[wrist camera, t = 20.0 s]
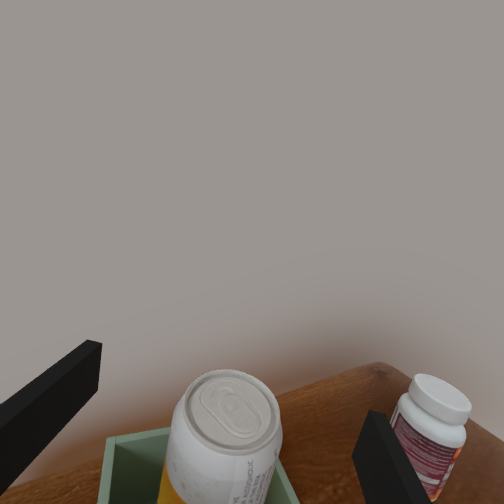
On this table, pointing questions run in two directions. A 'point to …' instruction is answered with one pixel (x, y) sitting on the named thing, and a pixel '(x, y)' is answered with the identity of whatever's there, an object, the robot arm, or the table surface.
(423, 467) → the pill bottle
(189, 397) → the beer can
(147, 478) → the trash bin
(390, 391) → the table surface
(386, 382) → the table surface
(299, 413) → the table surface
